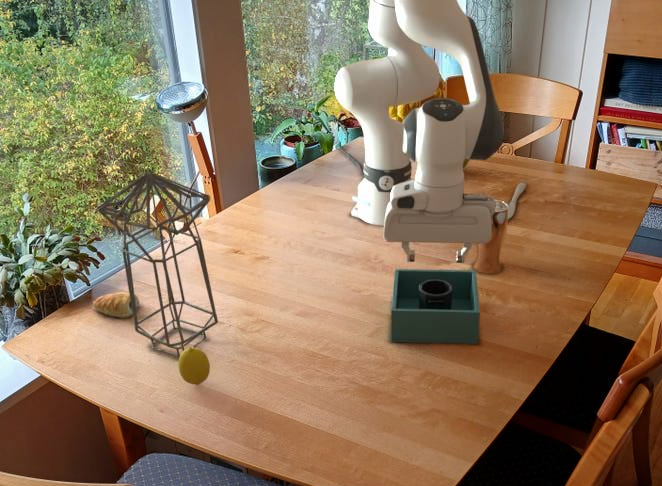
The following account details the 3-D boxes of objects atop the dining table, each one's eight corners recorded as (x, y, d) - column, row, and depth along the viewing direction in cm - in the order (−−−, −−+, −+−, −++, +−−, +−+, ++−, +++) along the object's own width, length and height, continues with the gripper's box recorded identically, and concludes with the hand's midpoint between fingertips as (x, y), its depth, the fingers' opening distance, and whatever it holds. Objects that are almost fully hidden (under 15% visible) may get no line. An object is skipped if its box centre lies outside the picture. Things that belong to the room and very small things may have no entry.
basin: (394, 298, 158) (394, 269, 154) (473, 300, 156) (475, 270, 152) (391, 341, 144) (391, 310, 140) (477, 344, 143) (480, 312, 138)
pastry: (88, 315, 157) (84, 300, 155) (103, 300, 162) (99, 284, 160) (129, 319, 155) (125, 303, 153) (143, 303, 160) (139, 287, 158)
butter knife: (530, 183, 205) (519, 181, 206) (507, 223, 185) (496, 221, 186) (529, 185, 205) (519, 183, 206) (507, 225, 185) (495, 223, 186)
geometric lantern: (180, 314, 156) (149, 152, 136) (236, 336, 148) (212, 167, 128) (123, 350, 145) (80, 180, 125) (180, 376, 138) (144, 199, 118)
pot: (419, 305, 154) (419, 276, 150) (450, 306, 153) (451, 276, 149) (418, 329, 147) (419, 298, 143) (450, 329, 146) (452, 299, 142)
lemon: (183, 376, 138) (176, 340, 133) (213, 374, 138) (207, 338, 133) (180, 394, 133) (173, 358, 128) (211, 392, 133) (205, 355, 129)
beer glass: (502, 275, 164) (509, 212, 155) (470, 273, 165) (475, 211, 157) (503, 261, 170) (509, 199, 161) (472, 259, 171) (477, 198, 162)
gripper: (495, 187, 136) (489, 254, 144) (384, 186, 138) (384, 252, 146) (497, 201, 131) (491, 270, 139) (382, 200, 133) (382, 267, 141)
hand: (435, 261), depth 143 cm, fingers open, 8 cm apart
